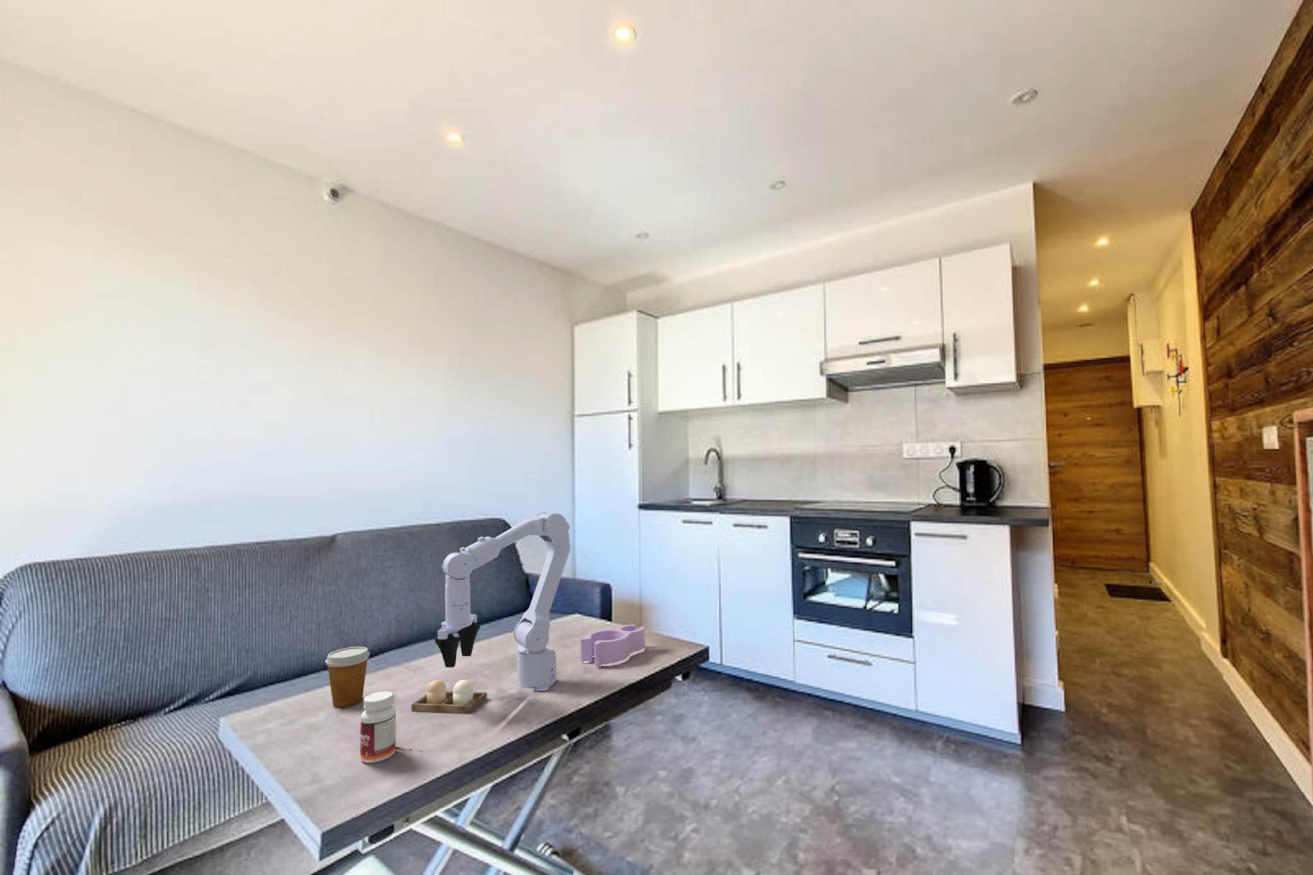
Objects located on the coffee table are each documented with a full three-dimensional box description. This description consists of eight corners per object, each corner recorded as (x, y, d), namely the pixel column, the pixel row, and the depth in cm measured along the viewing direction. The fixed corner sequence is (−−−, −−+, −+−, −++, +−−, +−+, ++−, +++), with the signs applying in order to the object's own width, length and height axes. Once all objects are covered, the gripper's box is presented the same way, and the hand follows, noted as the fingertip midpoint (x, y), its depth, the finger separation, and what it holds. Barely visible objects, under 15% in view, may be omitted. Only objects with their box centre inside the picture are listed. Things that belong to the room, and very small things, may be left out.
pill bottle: (355, 757, 105) (355, 697, 106) (387, 744, 110) (387, 687, 111) (368, 767, 101) (368, 705, 102) (401, 754, 106) (401, 694, 107)
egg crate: (487, 701, 130) (486, 692, 130) (469, 716, 122) (469, 706, 122) (431, 699, 132) (431, 690, 132) (411, 714, 124) (411, 704, 124)
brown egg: (449, 700, 129) (449, 677, 130) (439, 708, 125) (439, 683, 126) (433, 700, 130) (433, 676, 130) (423, 707, 126) (423, 683, 126)
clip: (626, 644, 170) (625, 622, 171) (654, 652, 161) (653, 629, 162) (574, 662, 156) (574, 637, 157) (602, 671, 147) (601, 645, 148)
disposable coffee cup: (378, 697, 135) (378, 648, 136) (342, 713, 127) (342, 660, 127) (352, 692, 139) (352, 644, 140) (316, 707, 131) (316, 656, 131)
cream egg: (460, 700, 129) (459, 676, 129) (476, 701, 128) (476, 677, 129) (449, 708, 125) (448, 683, 125) (466, 709, 124) (466, 684, 124)
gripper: (458, 596, 139) (459, 651, 138) (425, 611, 124) (425, 671, 123) (484, 596, 137) (484, 651, 136) (453, 611, 123) (454, 672, 122)
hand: (458, 661), depth 130 cm, fingers open, 7 cm apart
